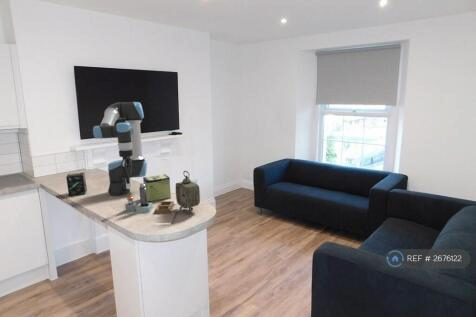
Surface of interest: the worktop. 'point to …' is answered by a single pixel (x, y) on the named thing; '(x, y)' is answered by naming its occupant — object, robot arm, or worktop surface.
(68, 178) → the tampon box
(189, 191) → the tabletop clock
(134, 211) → the socket block
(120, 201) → the worktop surface
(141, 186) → the dark grey cylinder
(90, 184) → the worktop surface
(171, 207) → the tray
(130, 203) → the release plunger
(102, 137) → the robot arm
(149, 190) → the protein box
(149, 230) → the worktop surface
